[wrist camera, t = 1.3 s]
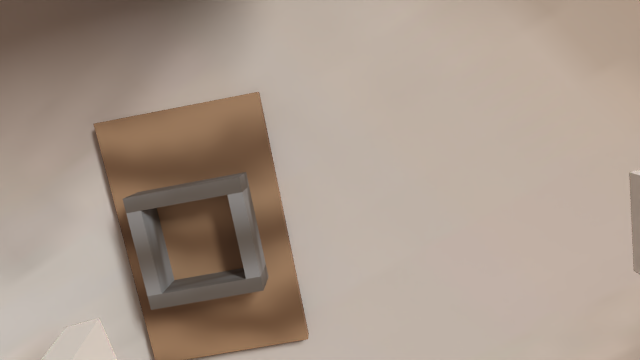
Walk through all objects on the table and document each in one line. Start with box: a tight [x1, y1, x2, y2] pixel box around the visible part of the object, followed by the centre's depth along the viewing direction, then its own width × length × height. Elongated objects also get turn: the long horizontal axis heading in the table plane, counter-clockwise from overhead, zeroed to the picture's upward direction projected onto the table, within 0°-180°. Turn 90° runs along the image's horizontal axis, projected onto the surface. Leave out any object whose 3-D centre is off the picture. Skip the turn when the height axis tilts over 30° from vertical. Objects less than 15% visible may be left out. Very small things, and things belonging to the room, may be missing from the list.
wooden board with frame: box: [94, 92, 309, 360], centre depth 37 cm, size 22×14×4 cm, turn 11°
